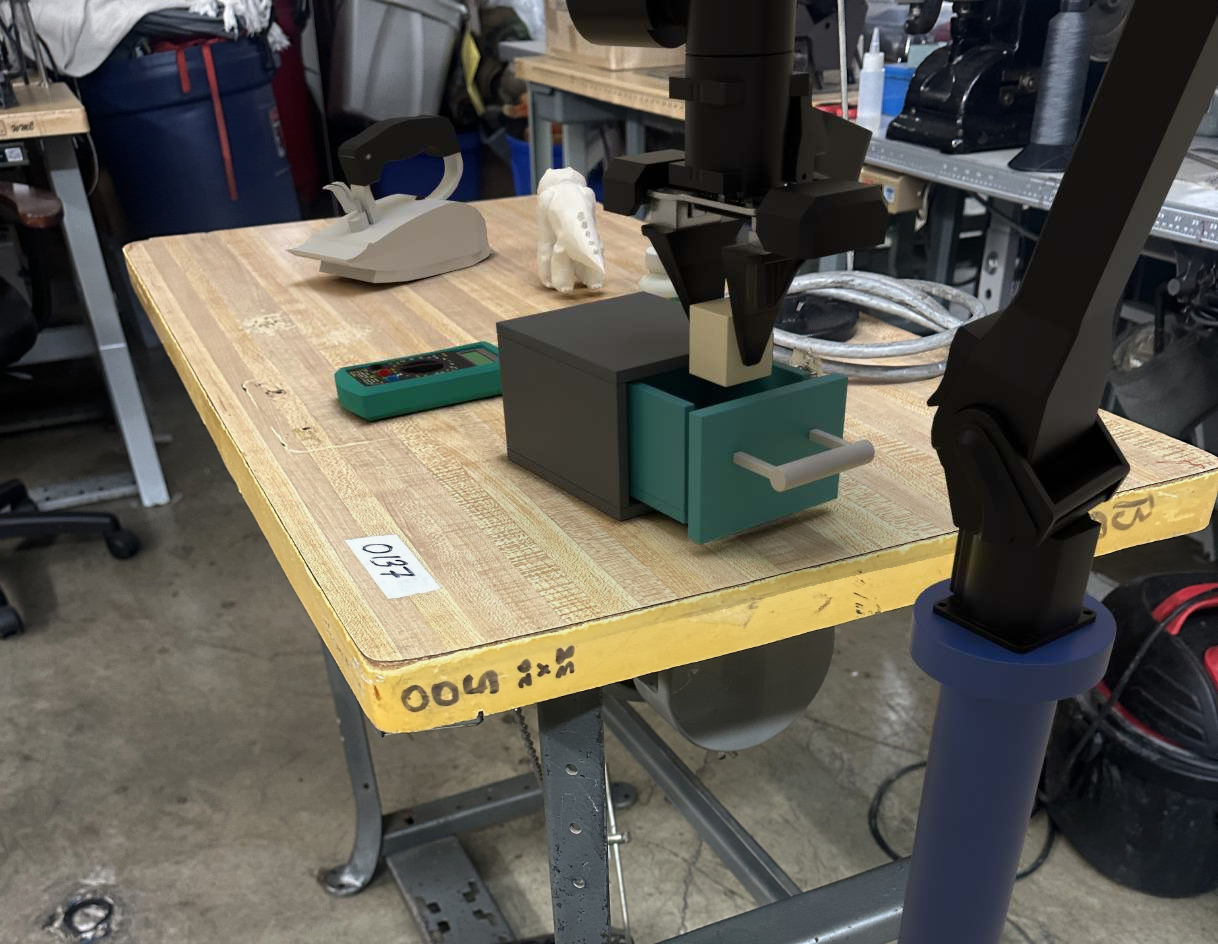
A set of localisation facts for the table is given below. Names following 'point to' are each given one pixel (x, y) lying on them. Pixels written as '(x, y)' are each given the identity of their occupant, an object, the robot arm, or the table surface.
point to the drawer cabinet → (585, 389)
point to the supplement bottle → (656, 278)
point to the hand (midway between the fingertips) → (730, 357)
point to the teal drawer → (738, 447)
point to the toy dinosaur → (568, 232)
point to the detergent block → (721, 346)
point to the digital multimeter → (420, 381)
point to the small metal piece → (806, 362)
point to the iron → (398, 210)
